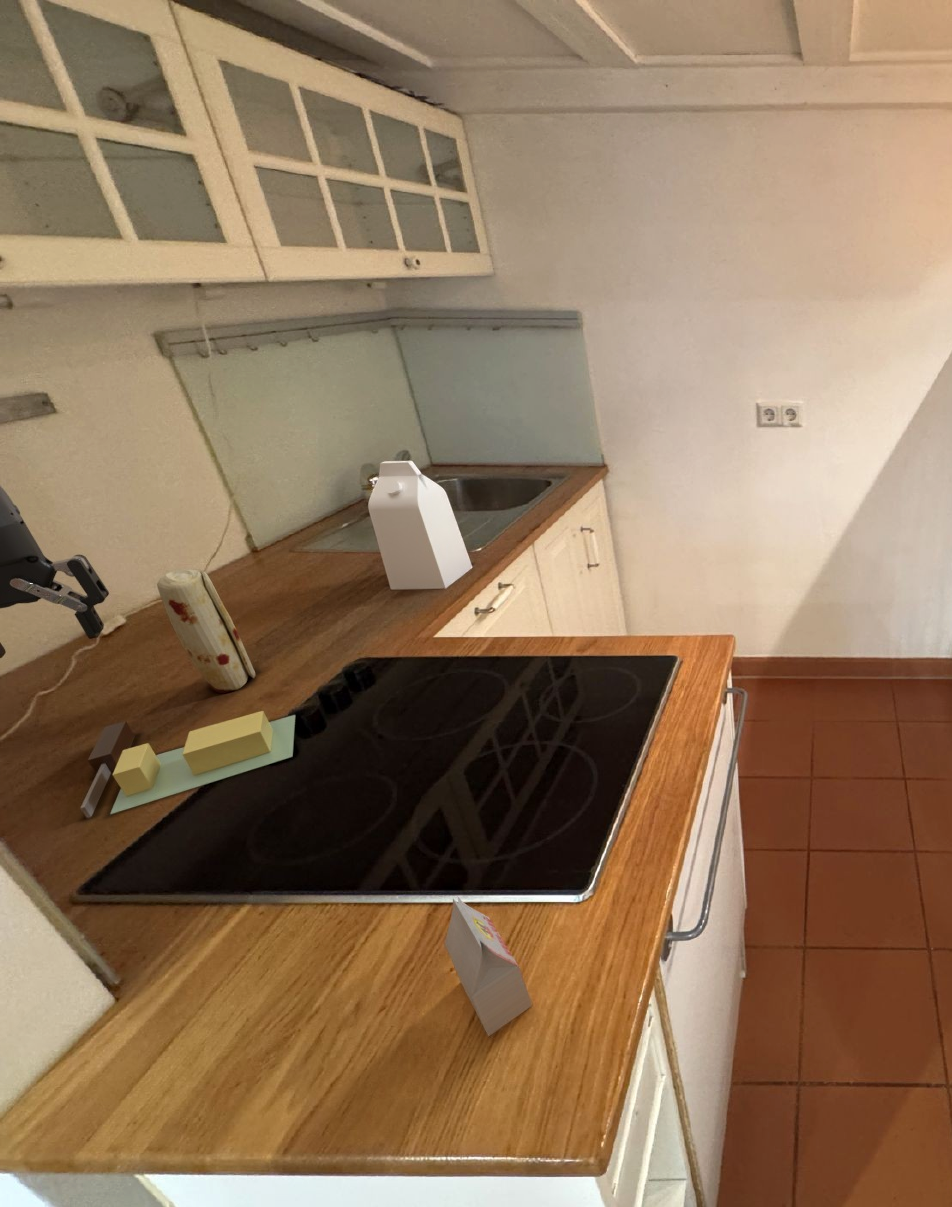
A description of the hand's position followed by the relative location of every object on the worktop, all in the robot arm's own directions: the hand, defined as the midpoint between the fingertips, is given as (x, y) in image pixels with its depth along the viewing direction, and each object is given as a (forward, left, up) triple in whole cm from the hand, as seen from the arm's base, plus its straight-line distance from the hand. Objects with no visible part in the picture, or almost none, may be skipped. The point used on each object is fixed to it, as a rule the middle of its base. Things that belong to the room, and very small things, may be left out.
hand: (49, 645), depth 82 cm
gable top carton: (+36, -68, -18) cm, 79 cm away
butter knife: (0, -5, -18) cm, 19 cm away
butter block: (+13, -10, -17) cm, 24 cm away
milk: (+43, +45, -18) cm, 65 cm away
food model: (+11, +16, -18) cm, 26 cm away
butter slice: (+4, -10, -17) cm, 20 cm away
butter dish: (+11, -10, -18) cm, 23 cm away
